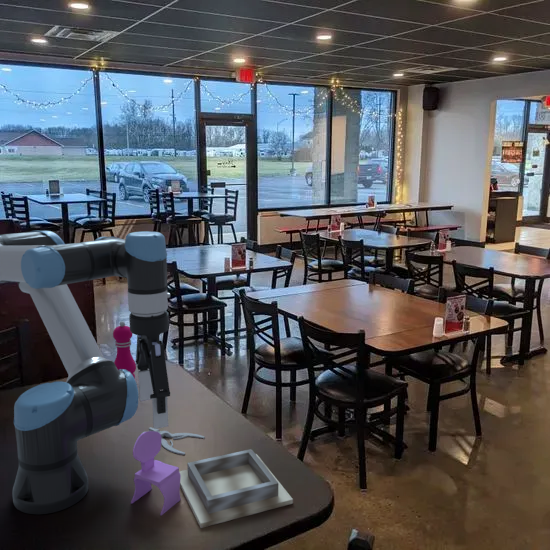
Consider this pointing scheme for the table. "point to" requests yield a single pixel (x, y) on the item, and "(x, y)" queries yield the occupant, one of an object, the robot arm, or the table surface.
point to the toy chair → (155, 471)
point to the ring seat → (231, 487)
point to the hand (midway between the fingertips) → (153, 412)
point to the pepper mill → (124, 348)
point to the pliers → (169, 435)
